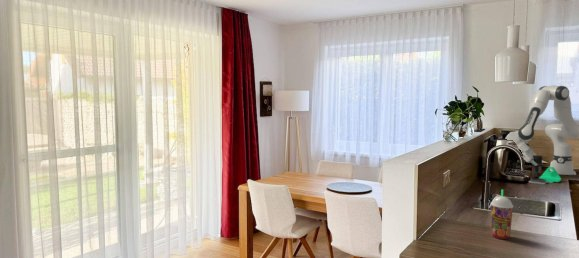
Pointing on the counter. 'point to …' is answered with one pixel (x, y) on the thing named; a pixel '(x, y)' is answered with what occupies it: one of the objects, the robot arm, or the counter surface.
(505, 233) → the smoothie
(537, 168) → the deodorant
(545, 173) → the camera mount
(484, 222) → the counter surface
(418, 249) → the counter surface
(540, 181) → the mount plate
